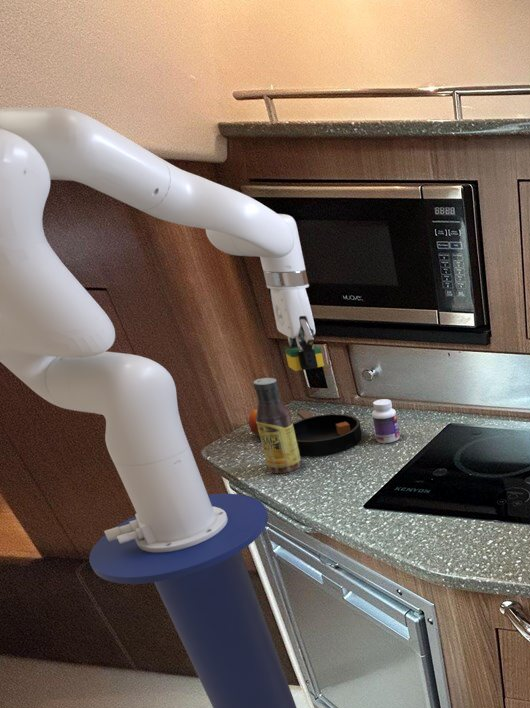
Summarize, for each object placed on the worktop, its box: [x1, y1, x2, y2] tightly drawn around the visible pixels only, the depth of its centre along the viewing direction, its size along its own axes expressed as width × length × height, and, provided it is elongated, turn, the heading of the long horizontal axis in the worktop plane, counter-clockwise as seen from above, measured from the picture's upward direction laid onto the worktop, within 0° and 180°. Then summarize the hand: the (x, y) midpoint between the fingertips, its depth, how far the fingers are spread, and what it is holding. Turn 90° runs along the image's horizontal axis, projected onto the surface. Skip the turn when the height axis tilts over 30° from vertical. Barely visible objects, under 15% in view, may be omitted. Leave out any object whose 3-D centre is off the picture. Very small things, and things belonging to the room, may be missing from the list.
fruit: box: [248, 409, 260, 438], centre depth 120 cm, size 8×8×8 cm
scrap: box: [336, 422, 351, 435], centre depth 122 cm, size 2×2×2 cm
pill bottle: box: [371, 398, 401, 444], centre depth 120 cm, size 5×5×10 cm
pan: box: [293, 409, 363, 458], centre depth 121 cm, size 16×22×4 cm
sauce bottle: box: [252, 377, 302, 474], centre depth 103 cm, size 6×6×20 cm
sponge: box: [284, 345, 325, 372], centre depth 110 cm, size 6×4×4 cm, turn 137°
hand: (305, 365), depth 110 cm, fingers closed on sponge, 4 cm apart
